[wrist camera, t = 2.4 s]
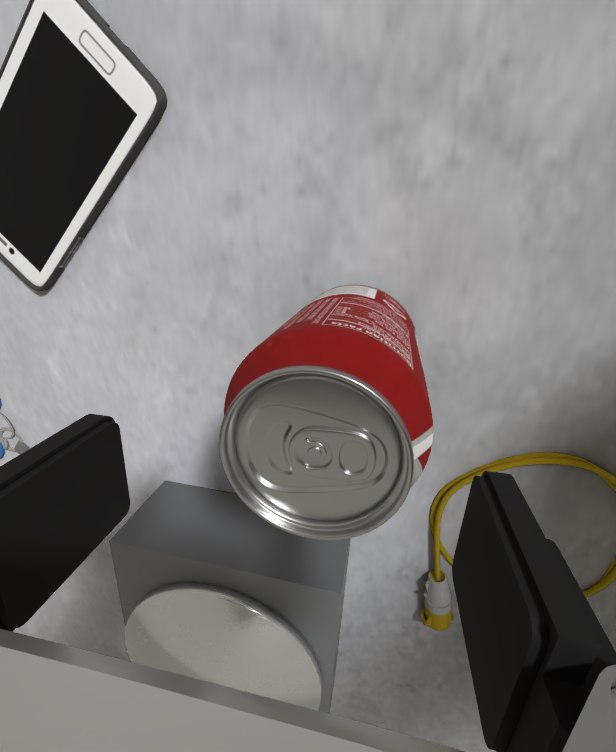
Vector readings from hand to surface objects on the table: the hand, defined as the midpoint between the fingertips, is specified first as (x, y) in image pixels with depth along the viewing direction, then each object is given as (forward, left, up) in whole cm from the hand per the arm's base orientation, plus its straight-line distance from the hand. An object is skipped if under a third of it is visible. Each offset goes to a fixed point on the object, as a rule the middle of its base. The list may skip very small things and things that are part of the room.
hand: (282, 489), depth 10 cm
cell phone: (+17, -9, -14) cm, 24 cm away
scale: (+5, +20, -13) cm, 24 cm away
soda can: (-1, 0, -13) cm, 13 cm away
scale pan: (+5, +20, -7) cm, 22 cm away
